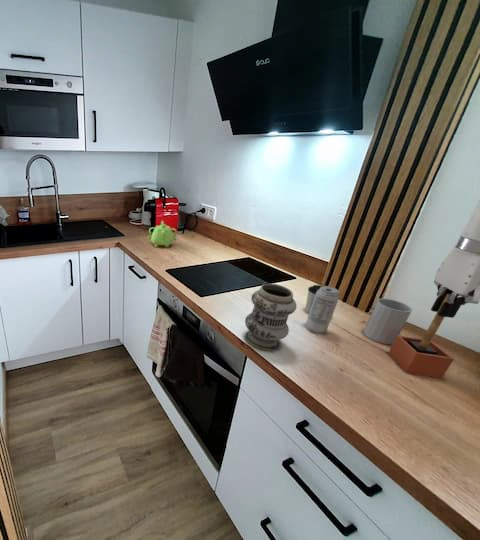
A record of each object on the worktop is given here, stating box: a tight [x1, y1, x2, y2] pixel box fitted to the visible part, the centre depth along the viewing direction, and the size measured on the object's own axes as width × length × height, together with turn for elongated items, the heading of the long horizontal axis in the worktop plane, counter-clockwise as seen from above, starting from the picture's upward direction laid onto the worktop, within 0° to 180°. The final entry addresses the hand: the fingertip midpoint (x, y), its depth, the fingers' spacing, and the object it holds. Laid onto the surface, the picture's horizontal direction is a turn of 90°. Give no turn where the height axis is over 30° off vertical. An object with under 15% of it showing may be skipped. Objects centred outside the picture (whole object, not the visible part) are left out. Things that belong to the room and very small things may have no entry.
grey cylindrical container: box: [363, 297, 413, 345], centre depth 90 cm, size 8×8×12 cm
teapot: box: [147, 220, 178, 248], centre depth 172 cm, size 16×14×13 cm
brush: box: [408, 294, 451, 355], centre depth 76 cm, size 4×4×22 cm
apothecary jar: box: [244, 283, 297, 352], centre depth 85 cm, size 12×12×18 cm
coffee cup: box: [304, 284, 322, 314], centre depth 104 cm, size 7×7×10 cm
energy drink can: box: [305, 285, 340, 334], centre depth 93 cm, size 6×6×15 cm
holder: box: [387, 335, 455, 379], centre depth 79 cm, size 8×8×6 cm
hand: (441, 313), depth 74 cm, fingers closed on brush
